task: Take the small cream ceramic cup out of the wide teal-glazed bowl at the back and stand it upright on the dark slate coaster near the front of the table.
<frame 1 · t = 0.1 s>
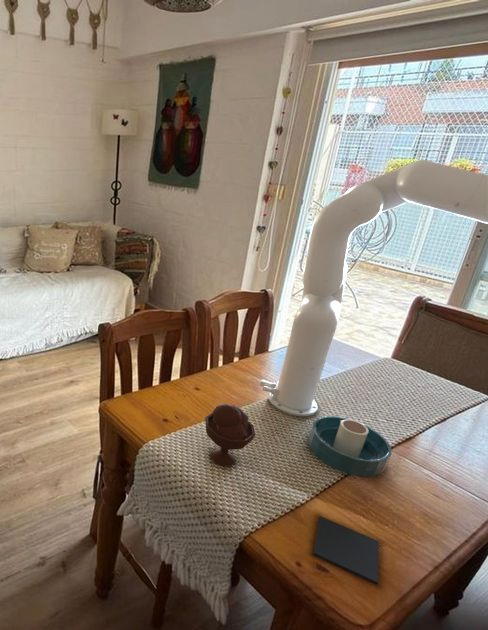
ice cream bowl: (222, 458, 103), on the table
slate coaster: (345, 548, 82), on the table
cream cup: (345, 451, 106), point 1 cm above the table, touching teal bowl
teal bowl: (344, 453, 106), on the table
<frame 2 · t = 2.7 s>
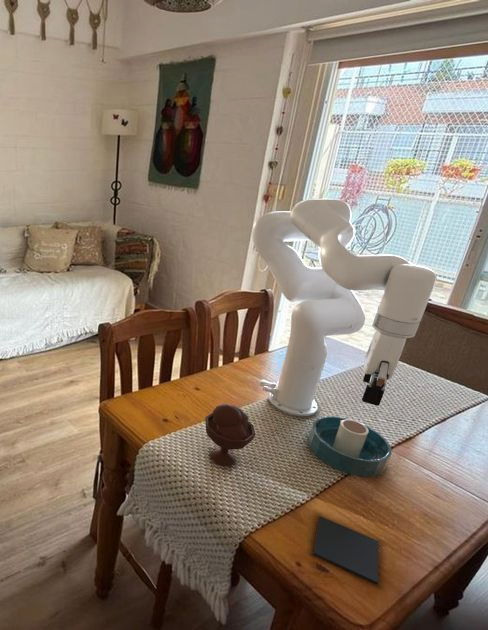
hand: (370, 392, 99), 18 cm above the table, tool pointing down, fingers open, 9 cm apart
nothing on the table moved.
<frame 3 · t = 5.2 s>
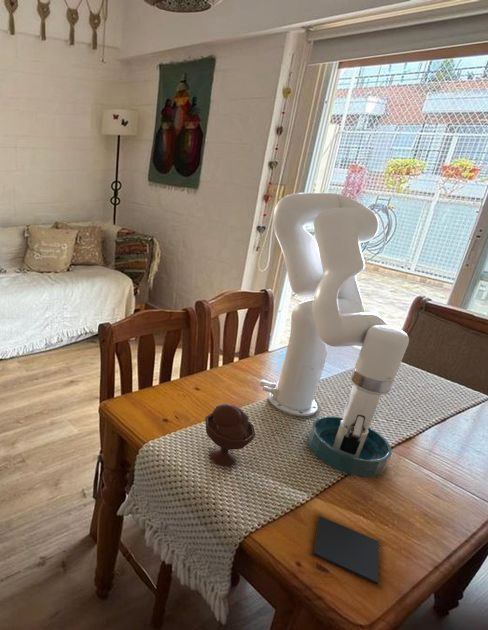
hand: (348, 443, 105), 3 cm above the table, tool pointing down, fingers closed on cream cup, 5 cm apart
cream cup: (345, 451, 106), point 1 cm above the table, touching gripper, teal bowl
everything else where it was.
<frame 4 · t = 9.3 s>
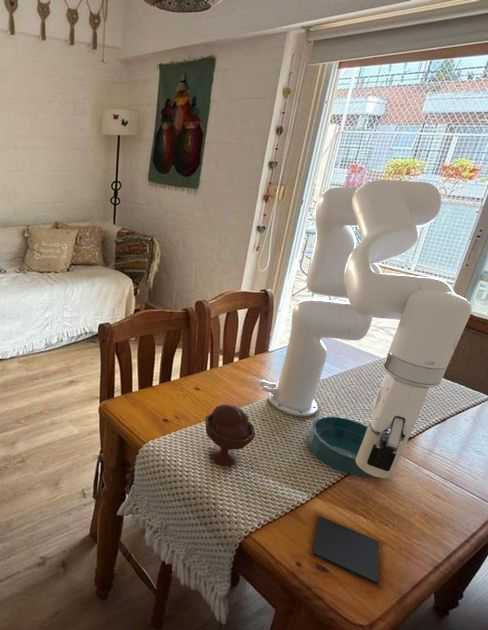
hand: (378, 455, 77), 20 cm above the table, tool pointing down, fingers closed on cream cup, 5 cm apart
cream cup: (373, 466, 78), point 17 cm above the table, touching gripper
everything else where it was.
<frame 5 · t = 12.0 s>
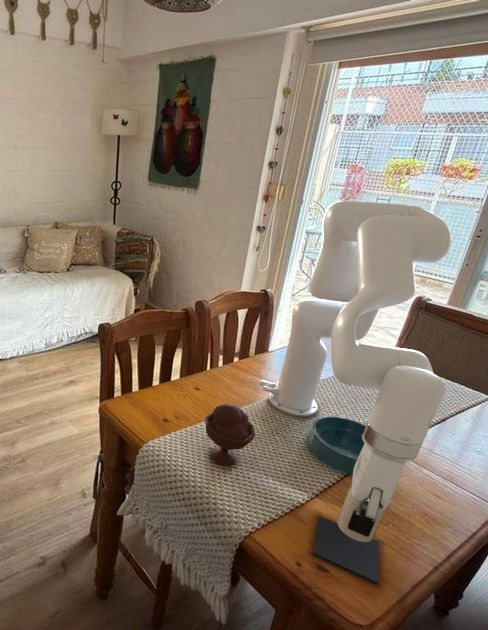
hand: (358, 518, 79), 8 cm above the table, tool pointing down, fingers closed on cream cup, 5 cm apart
cream cup: (355, 528, 80), point 6 cm above the table, touching gripper
everything else where it was.
when the fingers open (3 cm above the table, at t = 13.7 s): cream cup stays where it is, resting on slate coaster.
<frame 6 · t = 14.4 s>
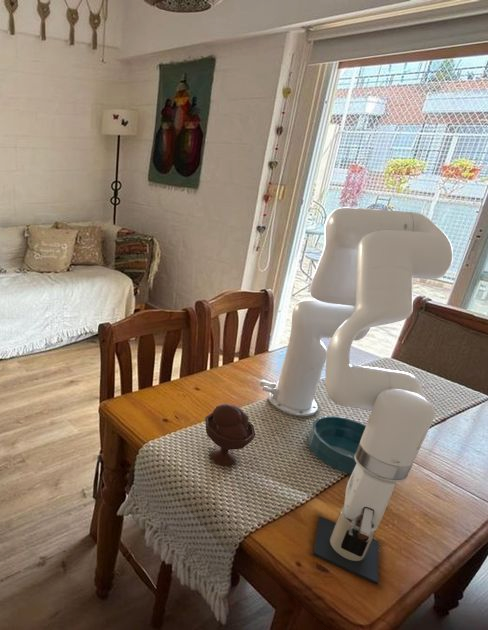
hand: (352, 531, 80), 4 cm above the table, tool pointing down, fingers open, 9 cm apart
cream cup: (347, 547, 82), point 1 cm above the table, touching slate coaster
everything else where it was.
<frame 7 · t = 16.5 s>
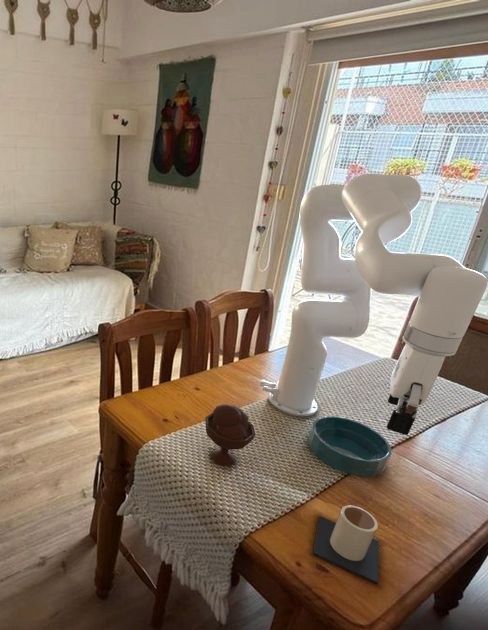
hand: (396, 417, 83), 22 cm above the table, tool pointing down, fingers open, 9 cm apart
nothing on the table moved.
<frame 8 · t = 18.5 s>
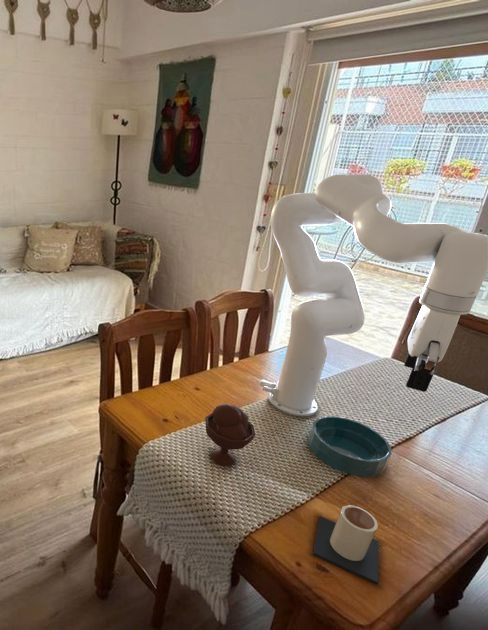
hand: (414, 377, 88), 26 cm above the table, tool pointing down, fingers open, 9 cm apart
nothing on the table moved.
at the end: cream cup inside the target area on the slate coaster (0.1 cm from its centre), point 0.6 cm above the slate coaster's base; cream cup tilted 0°; cream cup touching slate coaster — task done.
